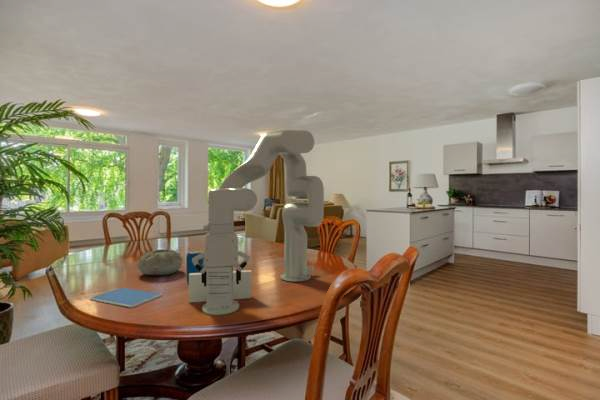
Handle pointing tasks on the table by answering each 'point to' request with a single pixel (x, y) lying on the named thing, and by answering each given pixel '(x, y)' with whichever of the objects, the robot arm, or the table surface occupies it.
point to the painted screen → (200, 294)
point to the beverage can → (190, 264)
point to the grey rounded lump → (160, 262)
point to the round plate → (223, 311)
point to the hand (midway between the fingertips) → (221, 284)
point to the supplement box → (219, 288)
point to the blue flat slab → (126, 297)
